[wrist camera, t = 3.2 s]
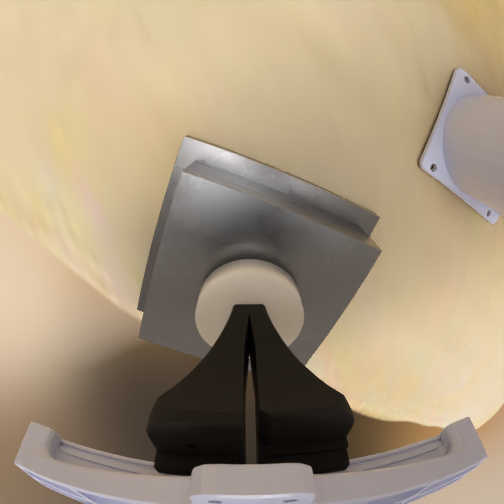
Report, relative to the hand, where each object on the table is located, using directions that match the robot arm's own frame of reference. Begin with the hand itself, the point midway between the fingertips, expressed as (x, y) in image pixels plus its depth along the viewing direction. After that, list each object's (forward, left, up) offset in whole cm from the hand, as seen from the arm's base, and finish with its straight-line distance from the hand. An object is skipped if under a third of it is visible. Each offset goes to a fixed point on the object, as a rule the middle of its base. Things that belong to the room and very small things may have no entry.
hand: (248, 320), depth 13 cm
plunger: (0, 0, -5) cm, 5 cm away
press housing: (0, 0, -6) cm, 6 cm away
